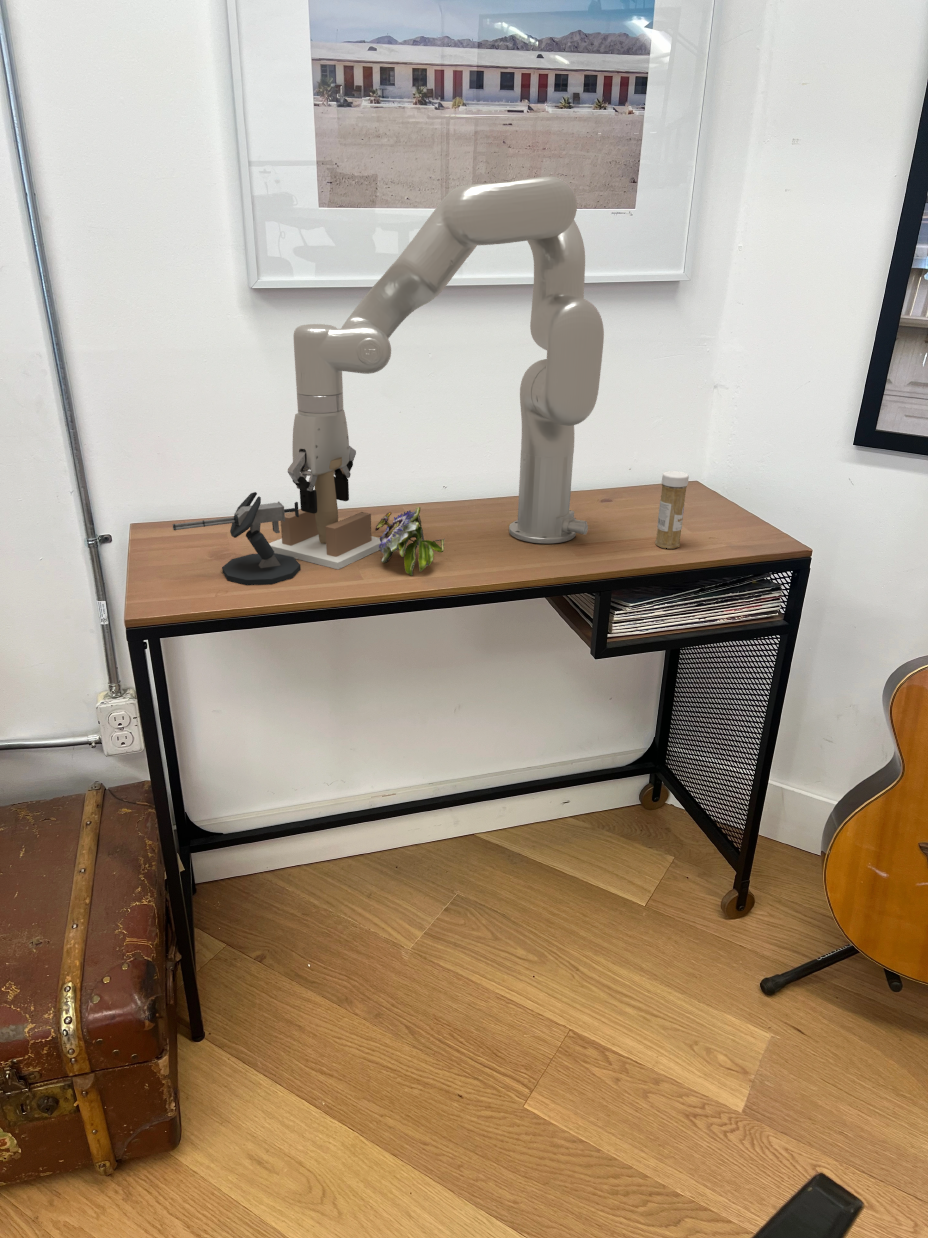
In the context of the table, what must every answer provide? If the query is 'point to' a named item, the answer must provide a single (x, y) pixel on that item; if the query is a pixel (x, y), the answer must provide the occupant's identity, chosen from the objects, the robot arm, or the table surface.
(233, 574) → the gun turret
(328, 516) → the handle
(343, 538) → the white base with blocks
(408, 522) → the passion flower
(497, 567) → the table surface
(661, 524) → the sprinkles bottle
